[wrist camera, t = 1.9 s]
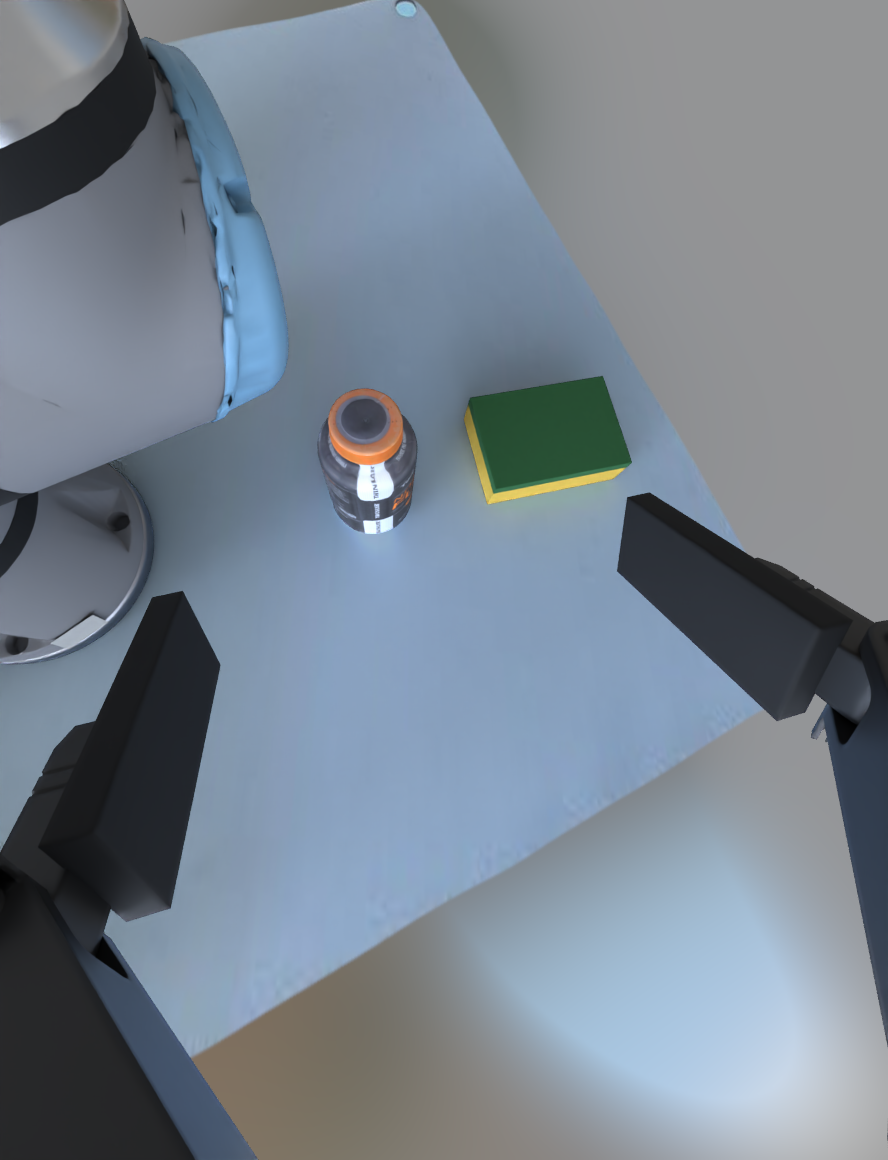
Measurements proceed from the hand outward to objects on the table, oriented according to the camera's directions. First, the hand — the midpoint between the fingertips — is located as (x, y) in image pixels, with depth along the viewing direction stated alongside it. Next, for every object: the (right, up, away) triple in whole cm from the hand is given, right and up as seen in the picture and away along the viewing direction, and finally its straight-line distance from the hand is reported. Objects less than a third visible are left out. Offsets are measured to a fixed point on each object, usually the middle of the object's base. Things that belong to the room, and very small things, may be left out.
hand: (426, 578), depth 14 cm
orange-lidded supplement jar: (-5, +6, +22) cm, 23 cm away
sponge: (+8, +11, +24) cm, 28 cm away
